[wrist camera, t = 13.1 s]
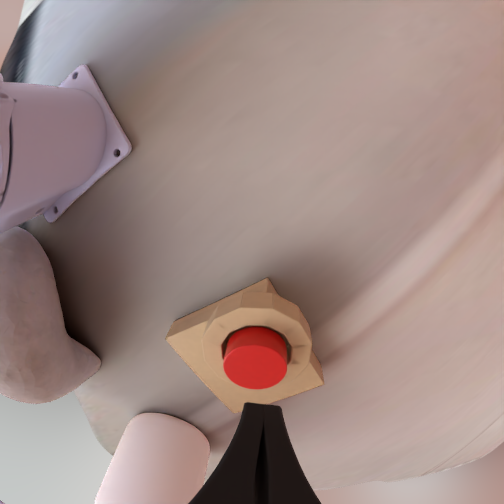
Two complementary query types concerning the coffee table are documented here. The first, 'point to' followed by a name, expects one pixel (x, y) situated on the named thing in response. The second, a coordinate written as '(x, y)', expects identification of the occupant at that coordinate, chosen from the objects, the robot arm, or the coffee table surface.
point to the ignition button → (255, 358)
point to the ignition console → (234, 319)
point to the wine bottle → (156, 463)
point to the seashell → (35, 327)
